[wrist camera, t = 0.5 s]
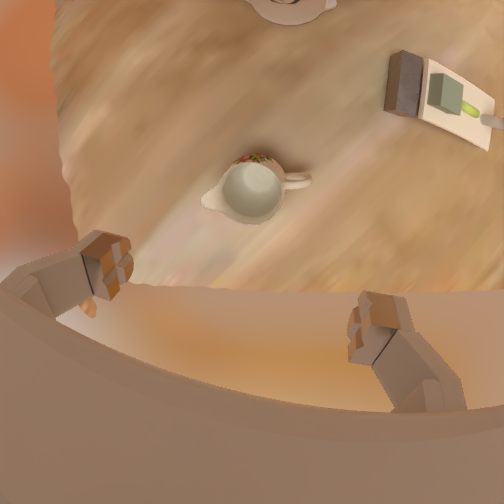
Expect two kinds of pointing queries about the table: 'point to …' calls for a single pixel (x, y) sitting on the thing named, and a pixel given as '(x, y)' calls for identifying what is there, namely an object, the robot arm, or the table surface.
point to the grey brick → (403, 84)
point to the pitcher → (252, 189)
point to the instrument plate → (464, 119)
